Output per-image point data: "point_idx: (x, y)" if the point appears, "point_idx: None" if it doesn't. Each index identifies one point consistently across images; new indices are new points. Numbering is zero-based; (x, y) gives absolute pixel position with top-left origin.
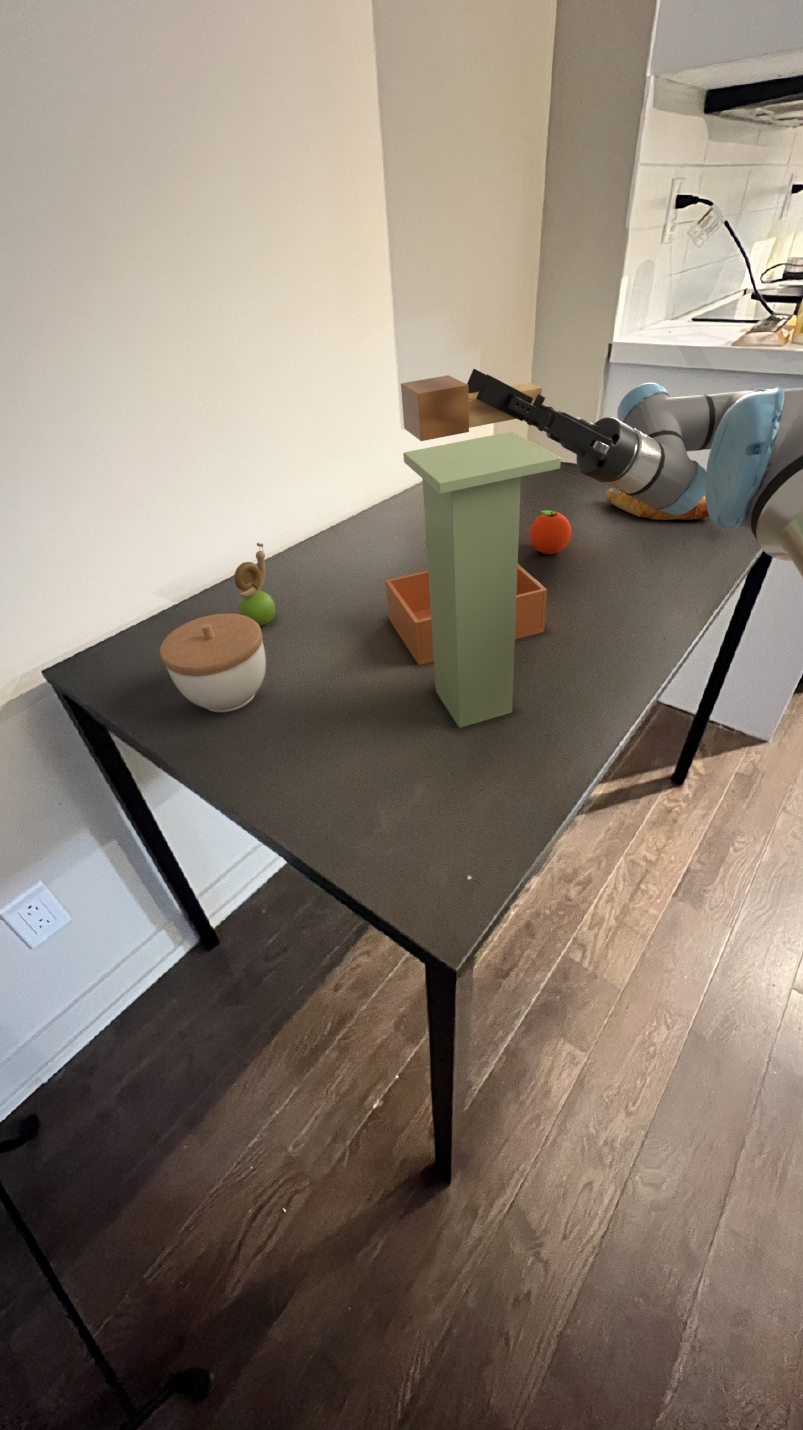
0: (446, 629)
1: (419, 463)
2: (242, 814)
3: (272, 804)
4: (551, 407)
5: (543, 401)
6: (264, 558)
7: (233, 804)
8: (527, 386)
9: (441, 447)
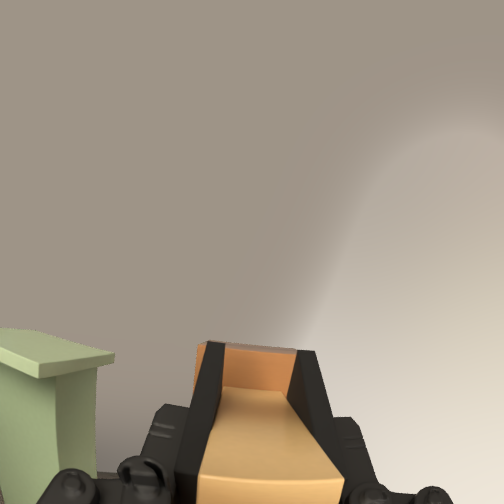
0: None
1: (76, 343)
2: (102, 472)
3: (97, 478)
4: (65, 476)
5: (121, 479)
6: None
7: (112, 473)
8: (262, 458)
9: (89, 353)
